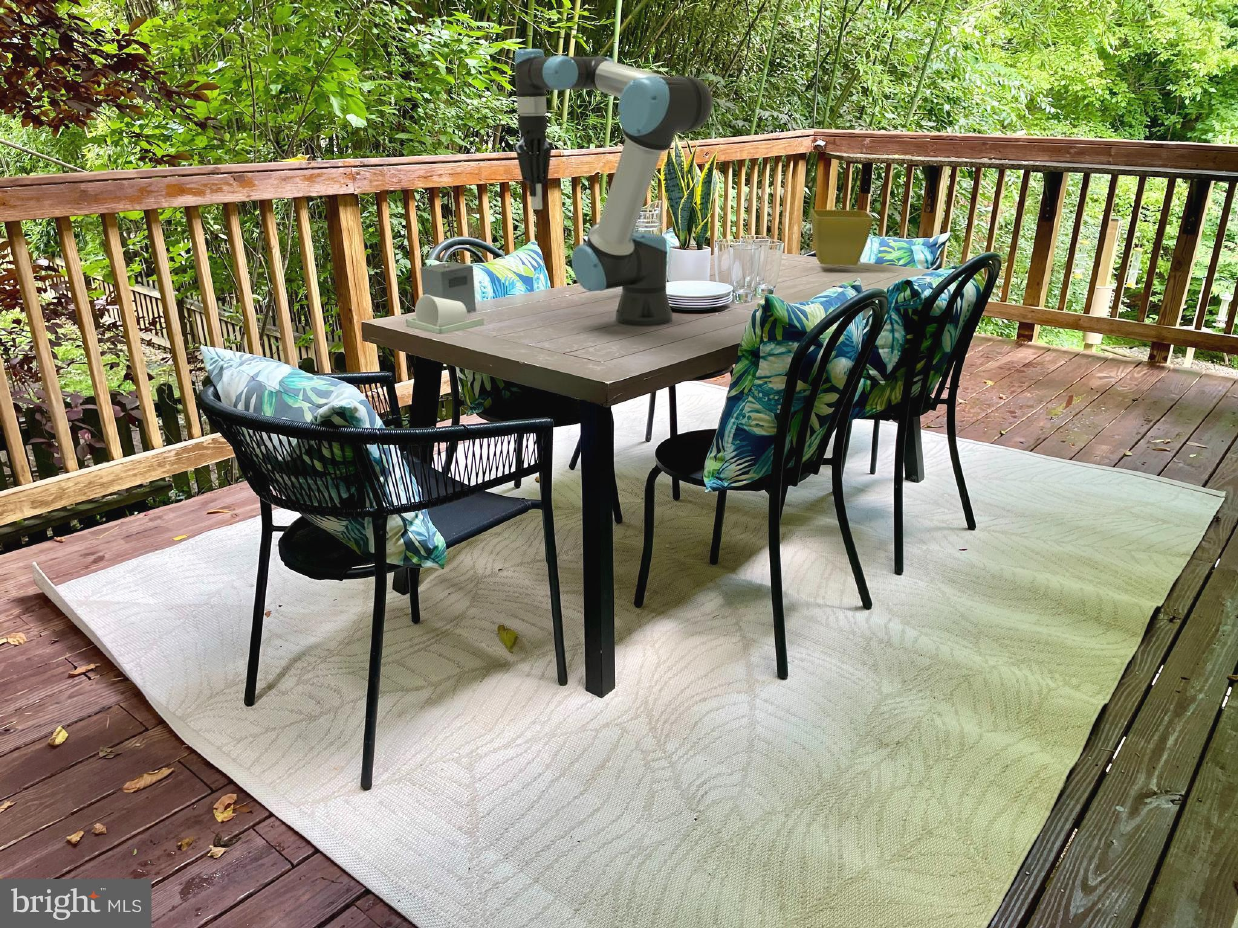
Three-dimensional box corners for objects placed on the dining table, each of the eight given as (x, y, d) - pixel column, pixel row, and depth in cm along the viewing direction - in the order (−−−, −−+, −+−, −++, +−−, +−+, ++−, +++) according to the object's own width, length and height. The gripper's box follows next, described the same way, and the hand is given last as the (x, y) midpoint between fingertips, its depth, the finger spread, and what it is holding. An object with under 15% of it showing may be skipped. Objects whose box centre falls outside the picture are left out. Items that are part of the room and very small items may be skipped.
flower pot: (860, 257, 323) (865, 209, 316) (868, 268, 305) (874, 217, 299) (807, 256, 325) (810, 209, 318) (812, 267, 307) (816, 217, 300)
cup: (477, 322, 232) (443, 324, 223) (455, 338, 238) (422, 340, 230) (465, 287, 233) (431, 288, 224) (443, 304, 239) (410, 304, 231)
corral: (484, 329, 234) (483, 317, 233) (441, 340, 224) (440, 328, 223) (449, 320, 242) (449, 309, 241) (407, 330, 233) (405, 319, 231)
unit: (476, 312, 250) (473, 263, 245) (445, 319, 243) (441, 269, 237) (454, 307, 256) (451, 259, 251) (423, 314, 249) (419, 265, 243)
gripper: (538, 114, 238) (543, 205, 247) (503, 115, 228) (509, 210, 237) (559, 114, 233) (563, 207, 242) (525, 115, 224) (530, 212, 233)
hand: (536, 208), depth 240 cm, fingers closed
